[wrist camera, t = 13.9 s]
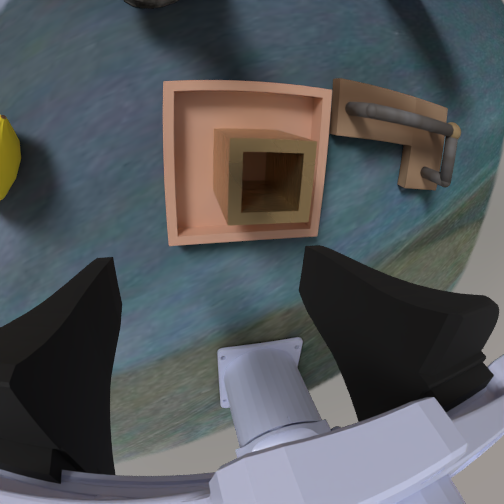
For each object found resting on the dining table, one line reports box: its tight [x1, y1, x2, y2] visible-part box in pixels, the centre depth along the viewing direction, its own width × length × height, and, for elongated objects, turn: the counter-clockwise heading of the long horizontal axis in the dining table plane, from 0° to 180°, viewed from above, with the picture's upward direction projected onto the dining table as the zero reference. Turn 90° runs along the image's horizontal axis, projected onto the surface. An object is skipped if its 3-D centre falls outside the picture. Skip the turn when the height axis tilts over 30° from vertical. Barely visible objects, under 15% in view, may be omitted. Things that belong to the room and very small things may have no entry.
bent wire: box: [330, 78, 461, 190], centre depth 19 cm, size 8×11×4 cm
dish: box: [163, 80, 332, 246], centre depth 18 cm, size 10×10×2 cm
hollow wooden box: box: [213, 128, 317, 226], centre depth 16 cm, size 4×4×6 cm
